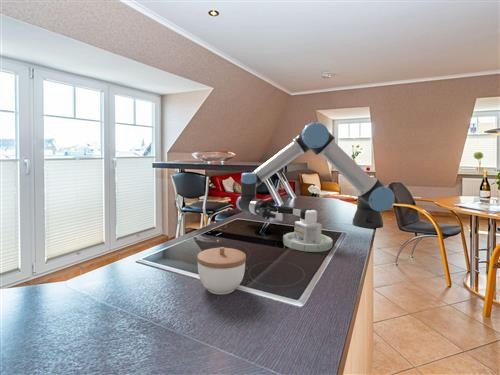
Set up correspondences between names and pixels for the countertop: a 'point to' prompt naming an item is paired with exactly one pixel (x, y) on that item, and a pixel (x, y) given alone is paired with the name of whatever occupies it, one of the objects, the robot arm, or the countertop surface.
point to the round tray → (293, 244)
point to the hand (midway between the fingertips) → (293, 215)
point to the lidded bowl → (221, 269)
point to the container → (308, 228)
